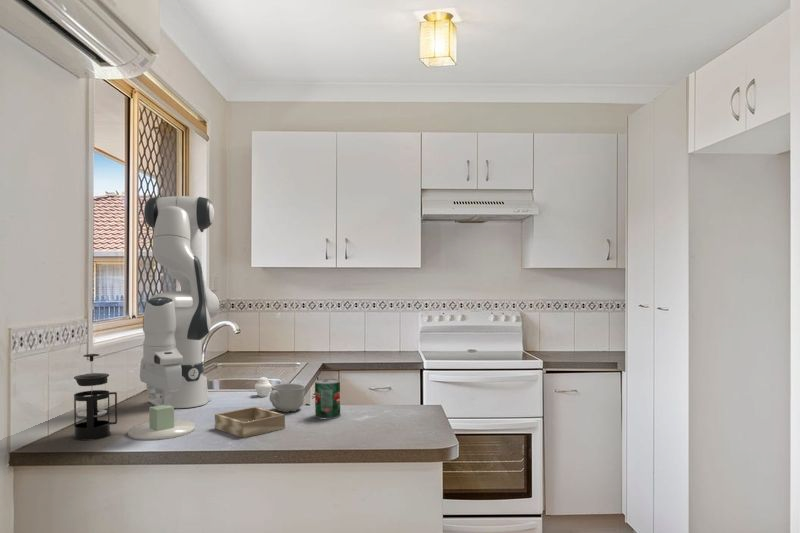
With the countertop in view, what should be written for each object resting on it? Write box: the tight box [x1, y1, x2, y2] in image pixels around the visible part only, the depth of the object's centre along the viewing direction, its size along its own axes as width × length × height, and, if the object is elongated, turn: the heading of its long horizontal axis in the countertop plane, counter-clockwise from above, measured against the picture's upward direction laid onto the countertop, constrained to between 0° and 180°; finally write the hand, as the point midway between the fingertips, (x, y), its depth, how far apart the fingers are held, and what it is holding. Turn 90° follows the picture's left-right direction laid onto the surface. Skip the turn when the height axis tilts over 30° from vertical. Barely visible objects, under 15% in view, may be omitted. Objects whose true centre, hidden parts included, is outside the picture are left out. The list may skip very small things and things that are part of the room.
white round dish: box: [127, 419, 196, 441], centre depth 184 cm, size 18×18×1 cm
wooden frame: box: [214, 406, 286, 438], centre depth 186 cm, size 16×14×4 cm
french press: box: [73, 353, 118, 441], centre depth 180 cm, size 12×9×23 cm
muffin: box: [254, 376, 273, 398], centre depth 233 cm, size 6×6×7 cm
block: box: [148, 405, 175, 431], centre depth 184 cm, size 5×5×6 cm
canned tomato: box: [314, 378, 341, 420], centre depth 201 cm, size 8×8×11 cm
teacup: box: [269, 383, 306, 413], centre depth 208 cm, size 14×11×8 cm
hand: (159, 402), depth 185 cm, fingers open, 8 cm apart
